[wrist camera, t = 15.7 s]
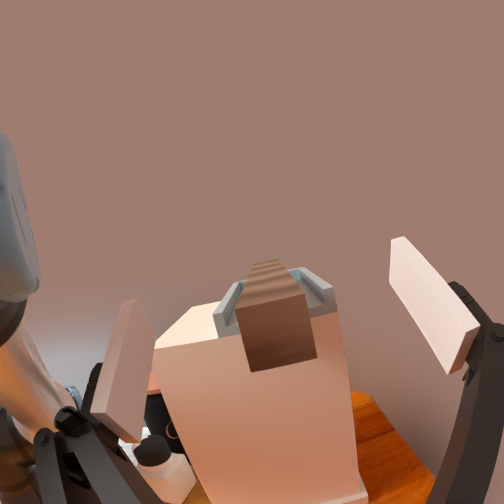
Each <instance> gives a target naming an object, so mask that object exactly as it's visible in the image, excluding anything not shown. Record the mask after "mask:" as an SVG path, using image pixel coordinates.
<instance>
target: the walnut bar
mask: <svg viewBox="0 0 504 504" xmlns="http://www.w3.org/2000/svg"><path fill="white" fill-rule="evenodd" d="M235 313H236V317H237V321H238V325H239V329H240V333H241V337H242V341H243V345H244V349H245V352H246V356H247V360H248V364H249V368H250V371H251V373H252V372H257V371H263V370H268V369H272V368H277V367H282V366H286V365H291V364H295V363H300V362H304V361H308V360H312V359H316V358H318V357H317V352H316V347H315V342H314V336H313V331H312V326H311V321H310V316H309V311H308V306H307V302H306V297H305V293H304V292H303V290H302V289H301V288H300V287H299V285H298V284H297V283H296V281H295V280H294V279H293V277H292V276H291V275H290V273H289V272H288V271H287V270H286V268H285V267H284V266H283V264H282V263H281V262H280V261H279V259H275V260H270V261H266V262H262V263H257V264H254V265H253V267H252V269H251V272H250V274H249V276H248V279H247V281H246V283H245V286H244V288H243V290H242V293H241V295H240V298H239V300H238V302H237V305H236V307H235Z"/></svg>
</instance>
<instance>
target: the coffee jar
mask: <svg viewBox="0 0 504 504" xmlns="http://www.w3.org/2000/svg"><path fill="white" fill-rule="evenodd" d="M144 420H145V422H146V424H147V427H148V429H149V431H150V433H151V435H159V436H162V437H164V438H165V439H166V442H167V444H168V446H169V448H170V450H171V452H172V453H176V454H184V455H185V457H186V459H187V461H188V463H190V460H189V458H188V456H187V454H186V452H185V449H184V447H183V445H182V443H181V440H180V438H179V436H178V433H177V431H176V429H175V426H174V424H173V421H172V419H171V416H170V414H169V411H168V409H167V406H166V404H165V401H164V399H163V396H162V393H161V391H160V388H159V385H158V382H157V380H156V377H155V374H154V371H150V377H149V384H148V390H147V397H146V404H145V412H144Z"/></svg>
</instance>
